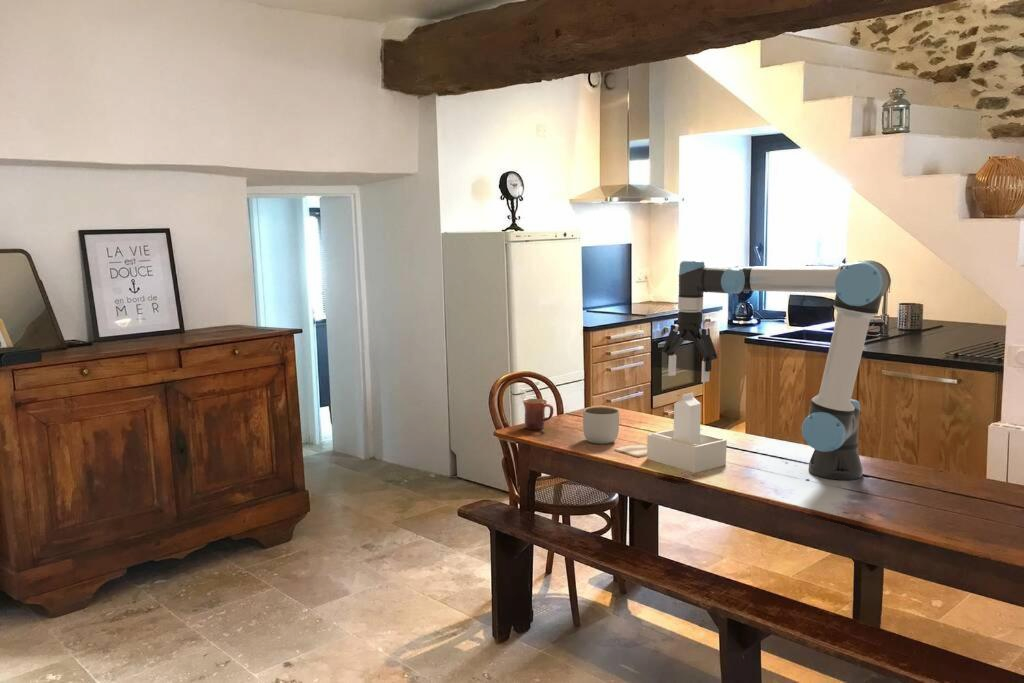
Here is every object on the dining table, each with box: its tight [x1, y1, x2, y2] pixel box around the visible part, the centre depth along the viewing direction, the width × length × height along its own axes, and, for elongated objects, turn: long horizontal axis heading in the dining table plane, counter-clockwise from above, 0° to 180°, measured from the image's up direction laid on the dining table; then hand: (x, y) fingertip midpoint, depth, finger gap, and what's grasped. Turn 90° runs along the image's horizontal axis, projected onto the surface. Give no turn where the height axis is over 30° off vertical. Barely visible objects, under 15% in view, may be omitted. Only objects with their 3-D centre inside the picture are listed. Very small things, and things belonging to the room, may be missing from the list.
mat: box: [614, 443, 647, 459], centre depth 274 cm, size 11×11×1 cm
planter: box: [582, 406, 620, 445], centre depth 286 cm, size 12×12×11 cm
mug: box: [522, 398, 554, 431], centre depth 304 cm, size 12×9×10 cm
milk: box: [673, 392, 702, 446], centre depth 260 cm, size 6×6×22 cm
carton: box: [646, 428, 728, 474], centre depth 261 cm, size 20×15×8 cm
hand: (688, 378), depth 258 cm, fingers open, 13 cm apart
